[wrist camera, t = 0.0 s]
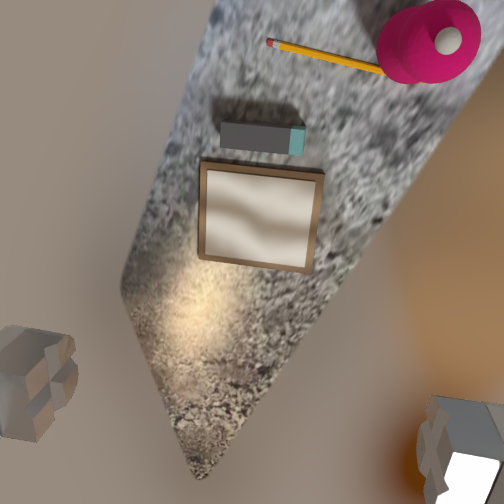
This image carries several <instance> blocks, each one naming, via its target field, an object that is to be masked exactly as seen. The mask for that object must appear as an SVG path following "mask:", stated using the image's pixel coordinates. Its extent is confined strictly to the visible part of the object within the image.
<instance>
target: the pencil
mask: <svg viewBox="0 0 504 504" xmlns="http://www.w3.org/2000/svg"><path fill="white" fill-rule="evenodd" d="M267 46H270V47H274V48H278V49H282V50H286V51H290V52H294V53H298V54H302V55H306V56H310V57H314V58H318V59H322V60H326V61H330V62H334V63H338V64H342V65H346V66H350V67H354V68H358V69H362V70H366V71H370V72H374V73H378V74H382V75H386V74H385V73H384V72H383V71H382V69H381V68H380V66H378V65H374V64H370V63H366V62H362V61H358V60H354V59H350V58H346V57H342V56H338V55H334V54H330V53H326V52H322V51H318V50H314V49H310V48H306V47H302V46H298V45H294V44H290V43H286V42H282V41H278V40H274V39H268V42H267ZM386 76H387V75H386ZM419 83H423V82H419Z"/></svg>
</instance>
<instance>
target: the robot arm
mask: <svg viewBox="0 0 504 504" xmlns="http://www.w3.org/2000/svg"><path fill="white" fill-rule="evenodd" d="M75 351H76V348H75V342H74V338H72V337H71V336H70V335H66V334H61V333H55V332H50V331H45V330H39V329H34V328H27V327H22V326H16V325H10V326H6V327H4V328H3V329H2V330H1V331H0V438H1V437H7V438H12V439H19V440H24V441H30V442H36V443H37V442H38V441H39V439H40V438H41V437H42V436H43V434H44V433H45V432H46V430H47V429H48V428H49V427H50V425H51V424H52V423H53V421H54V420H55V418H54V411H56V410H58V409H60V408H62V407H64V406H66V405H67V403H68V402H69V400H70V399H71V398H72V396H73V394H74V391H75V389H76V386H77V382H78V366H77V364H76V363H75V362H74V361H73V359H72V358H71V356H72V355H73V353H74V352H75ZM425 409H426V412H427V417H428V420H427V421H425V422H424V423H422V424H421V425H420V429H419V433H418V437H417V461H418V466H419V471H420V472H421V473H422V474H423V475H424V476H425V477H426V478H427V480H426V483H425V486H424V489H423V490H424V495H425V499H426V504H504V404H497V403H490V402H483V401H482V402H478V401H472V400H465V399H459V398H453V397H446V396H440V395H433V394H432V395H431V396H430V398H429V399H428V402H427V405H426V408H425Z"/></svg>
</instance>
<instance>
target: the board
mask: <svg viewBox="0 0 504 504" xmlns="http://www.w3.org/2000/svg"><path fill="white" fill-rule="evenodd" d="M324 177H325V174H324V173H315V172H305V171H296V170H287V169H277V168H268V167H258V166H249V165H240V164H230V163H221V162H212V161H201V166H200V215H199V259H201V260H208V261H216V262H223V263H231V264H238V265H246V266H253V267H260V268H268V269H275V270H283V271H290V272H297V273H305V274H311V271H312V264H313V257H314V249H315V242H316V235H317V228H318V220H319V213H320V206H321V199H322V191H323V184H324Z"/></svg>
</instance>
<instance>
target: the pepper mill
mask: <svg viewBox="0 0 504 504" xmlns="http://www.w3.org/2000/svg"><path fill="white" fill-rule="evenodd" d="M480 41H481V26H480V22H479V20H478V17H477V15H476V14H475V12H474V11H473V10H472V8H470V7H469V6H468V5H467V4H465V3H463V2H461V1H459V0H434V1H430V2H428V3H426V4H424V5H422V6H413V7H408V8H406V9H403V10H401V11H399V12H398V13H396V14H395V15H394V16H392V17H391V18H390V19H389V20H388V21H387V23H386V24H385V25H384V27H383V29H382V30H381V32H380V35H379V38H378V42H377V49H376V51H377V59H378V63H379V65H380V68H381V69H382V71H383V72H384V73H385V74H386V75H387V76H388V77H389V78H390V79H392V80H394V81H395V82H398V83H402V84H415V83H419V82H423V83H429V84H434V83H442V82H446V81H448V80H451V79H453V78H455V77H456V76H458V75H459V74H461V73H462V72H463V71H464V70H466V68H467V67H468V66H469V65H470V64H471V63H472V61H473V59H474V58H475V56H476V54H477V51H478V49H479V45H480Z"/></svg>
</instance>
